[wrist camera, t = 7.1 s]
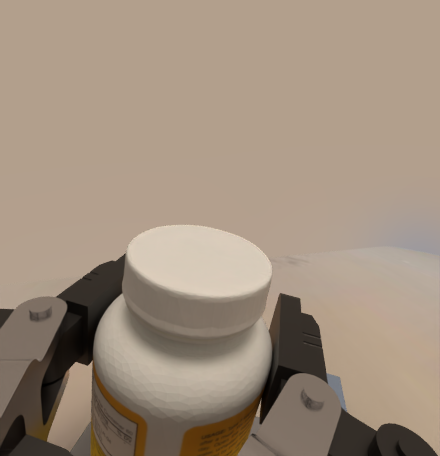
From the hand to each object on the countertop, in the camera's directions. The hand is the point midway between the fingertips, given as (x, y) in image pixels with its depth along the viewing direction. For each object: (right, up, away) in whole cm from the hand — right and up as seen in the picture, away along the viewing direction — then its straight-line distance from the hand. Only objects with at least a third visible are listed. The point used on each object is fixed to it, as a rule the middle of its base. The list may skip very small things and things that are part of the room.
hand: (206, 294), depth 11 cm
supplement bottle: (-2, -7, 0) cm, 7 cm away
